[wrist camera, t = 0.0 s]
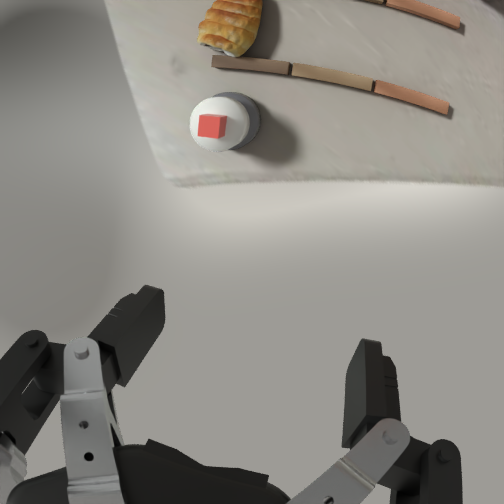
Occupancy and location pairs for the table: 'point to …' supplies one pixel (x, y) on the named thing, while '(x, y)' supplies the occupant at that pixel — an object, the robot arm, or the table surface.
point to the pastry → (231, 26)
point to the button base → (252, 113)
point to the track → (406, 3)
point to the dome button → (219, 123)
